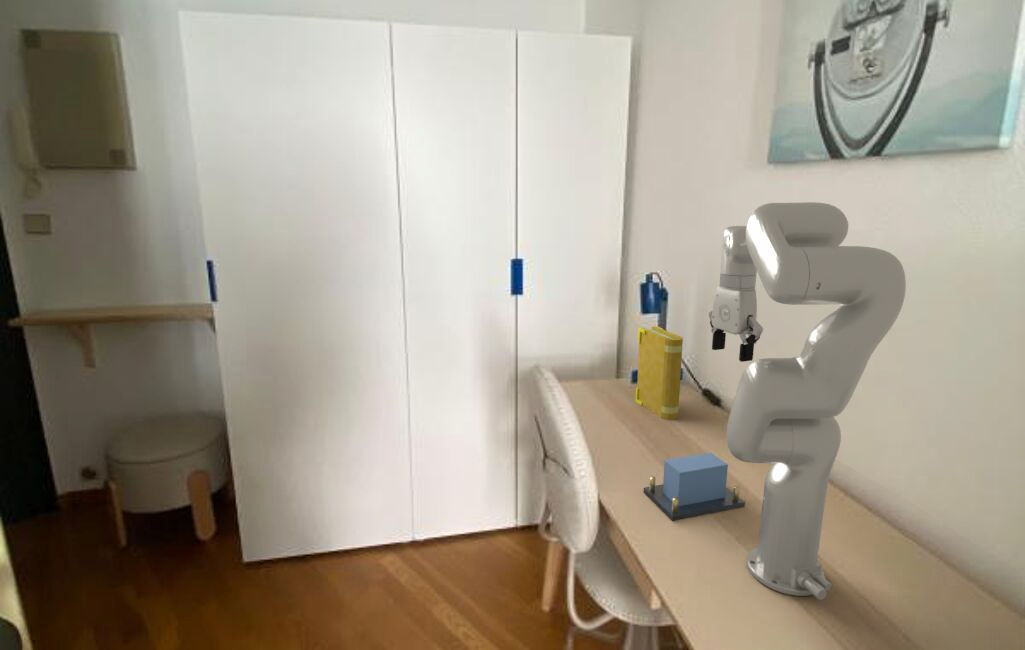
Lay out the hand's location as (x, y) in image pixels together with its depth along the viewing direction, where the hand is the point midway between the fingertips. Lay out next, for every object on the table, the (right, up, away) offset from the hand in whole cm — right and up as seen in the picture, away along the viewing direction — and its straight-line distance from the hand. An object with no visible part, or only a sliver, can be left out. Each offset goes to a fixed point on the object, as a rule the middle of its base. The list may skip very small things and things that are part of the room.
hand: (731, 354), depth 127 cm
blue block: (-10, -31, -4) cm, 33 cm away
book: (-4, -20, +47) cm, 52 cm away
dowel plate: (-10, -32, -4) cm, 34 cm away
